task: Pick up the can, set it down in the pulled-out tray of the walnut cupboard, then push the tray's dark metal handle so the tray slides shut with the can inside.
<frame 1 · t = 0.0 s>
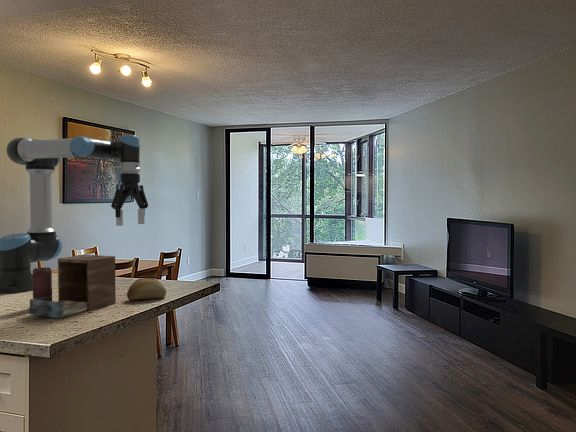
hand: (130, 224, 195), 28 cm above the worktop, fingers open, 13 cm apart
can: (42, 307, 169), on the worktop
tray: (56, 306, 159), point 3 cm above the worktop, slide at 11.0 cm
bread roll: (146, 299, 184), on the worktop
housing: (87, 305, 172), on the worktop
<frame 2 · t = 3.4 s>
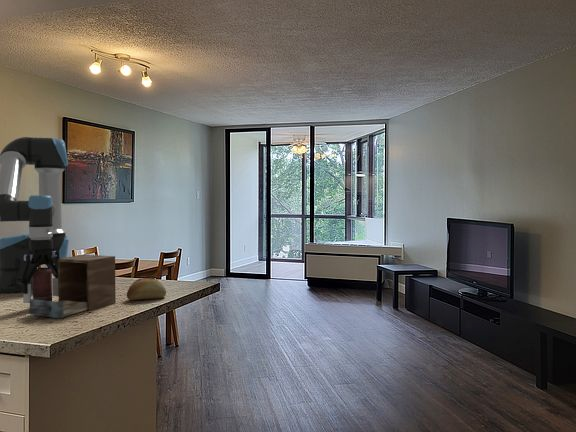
hand: (42, 299, 169), 3 cm above the worktop, fingers open, 12 cm apart
nothing on the worktop moved.
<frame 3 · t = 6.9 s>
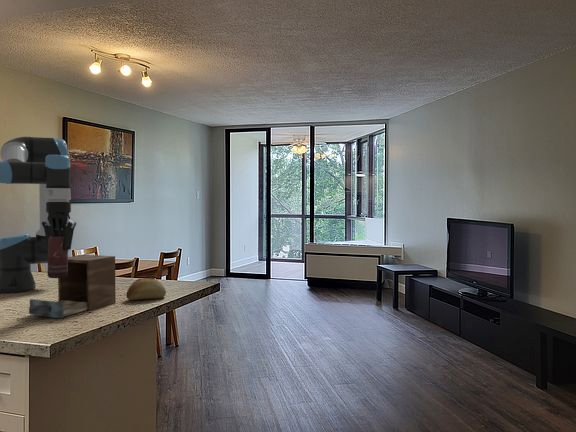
hand: (59, 270, 160), 14 cm above the worktop, fingers closed
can: (57, 277, 160), point 12 cm above the worktop, touching hand
everything else where it was.
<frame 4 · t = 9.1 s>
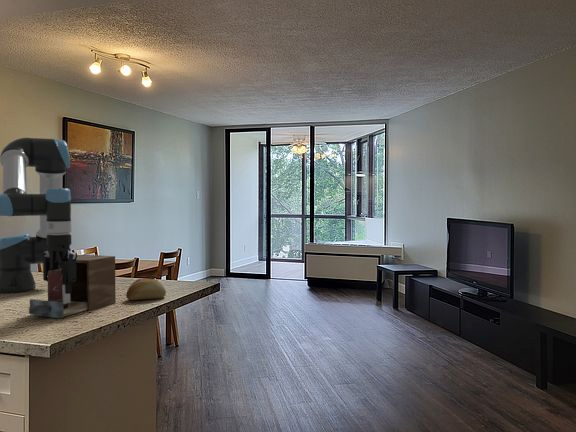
hand: (60, 302, 161), 4 cm above the worktop, fingers open, 5 cm apart
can: (58, 310, 161), point 1 cm above the worktop, touching tray
tray: (56, 306, 159), point 3 cm above the worktop, slide at 11.0 cm, touching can
everything else where it was.
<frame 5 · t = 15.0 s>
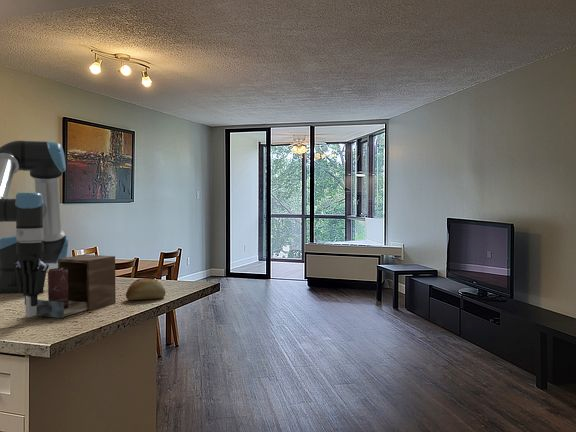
hand: (31, 315, 150), 2 cm above the worktop, fingers closed
tray: (56, 305, 159), point 3 cm above the worktop, slide at 10.8 cm, touching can, gripper
everything else where it was.
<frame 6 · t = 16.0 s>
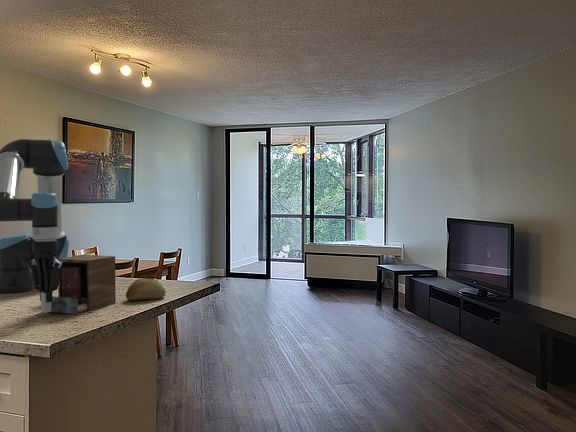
hand: (46, 311, 155), 2 cm above the worktop, fingers closed
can: (72, 306, 166), point 1 cm above the worktop, touching tray
tray: (70, 302, 165), point 3 cm above the worktop, slide at 5.0 cm, touching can, gripper
everything else where it was.
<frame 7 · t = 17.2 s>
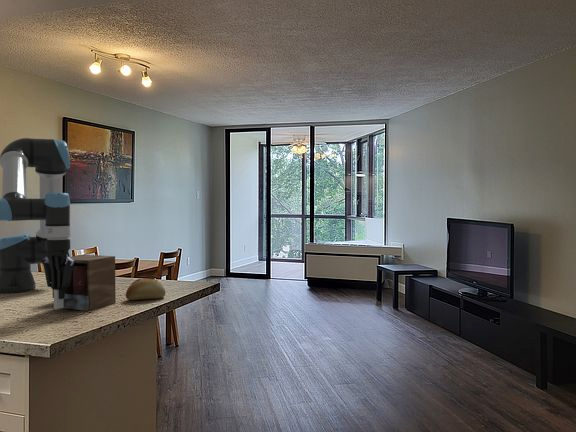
hand: (58, 308, 160), 2 cm above the worktop, fingers closed
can: (82, 303, 171), point 1 cm above the worktop, touching tray
tray: (81, 299, 169), point 3 cm above the worktop, slide at -0.1 cm, touching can, gripper
everything else where it was.
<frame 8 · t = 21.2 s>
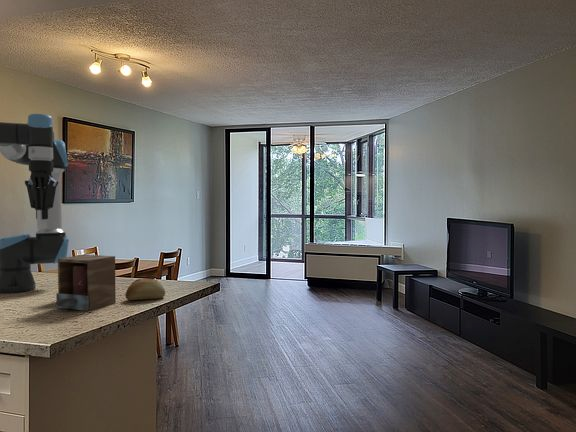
hand: (42, 228, 163), 28 cm above the worktop, fingers closed
tray: (81, 299, 169), point 3 cm above the worktop, slide at 0.0 cm, touching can
everything else where it was.
at the end: tray slide at 0.0 cm; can inside the target area on the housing (0.9 cm from its centre), point 0.9 cm above the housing's base; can tilted 0° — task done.
